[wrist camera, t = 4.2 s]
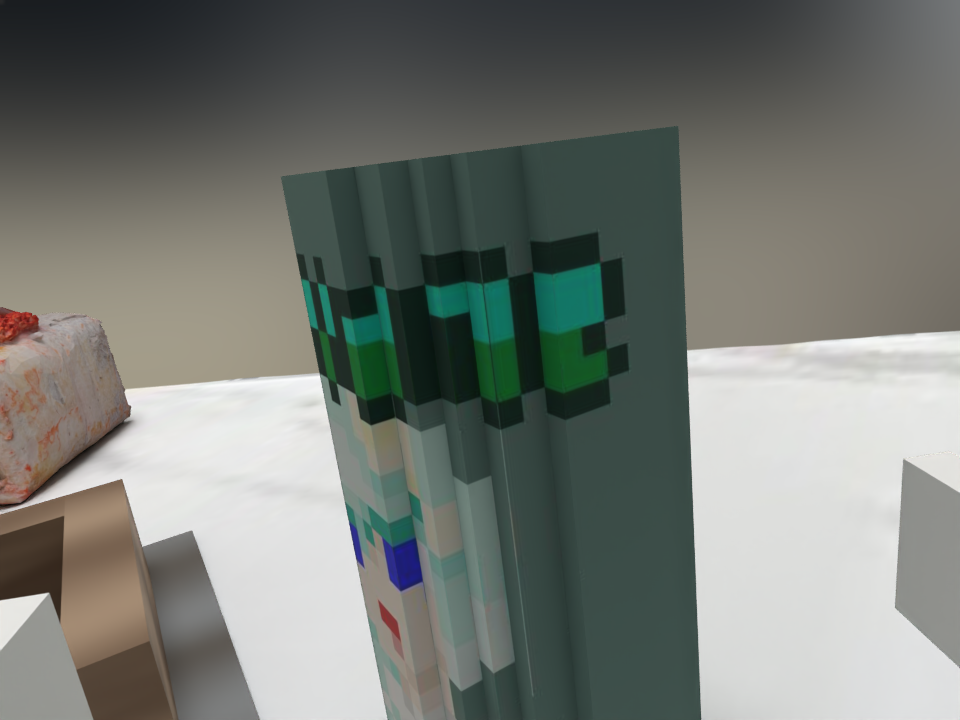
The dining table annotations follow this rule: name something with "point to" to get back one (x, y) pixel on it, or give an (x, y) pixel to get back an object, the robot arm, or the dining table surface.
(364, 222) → the can
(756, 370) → the dining table surface
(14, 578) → the holder
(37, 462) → the food item
